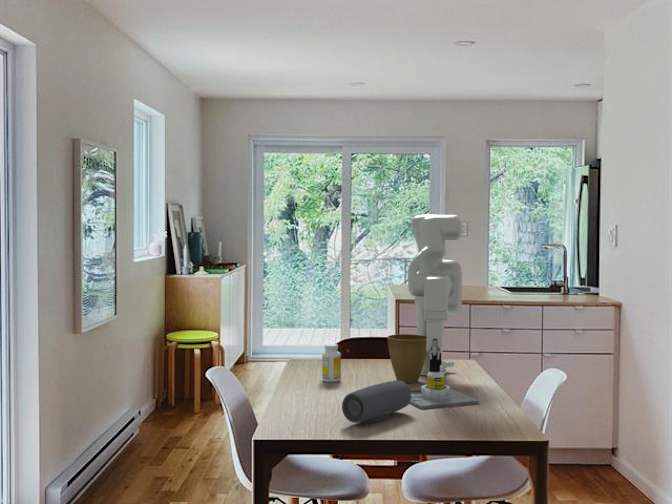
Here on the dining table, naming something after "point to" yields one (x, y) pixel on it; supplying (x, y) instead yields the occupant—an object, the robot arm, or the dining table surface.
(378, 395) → the bluetooth speaker
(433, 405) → the duct collar
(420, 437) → the dining table surface
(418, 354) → the plant pot
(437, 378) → the supplement bottle
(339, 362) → the supplement bottle
